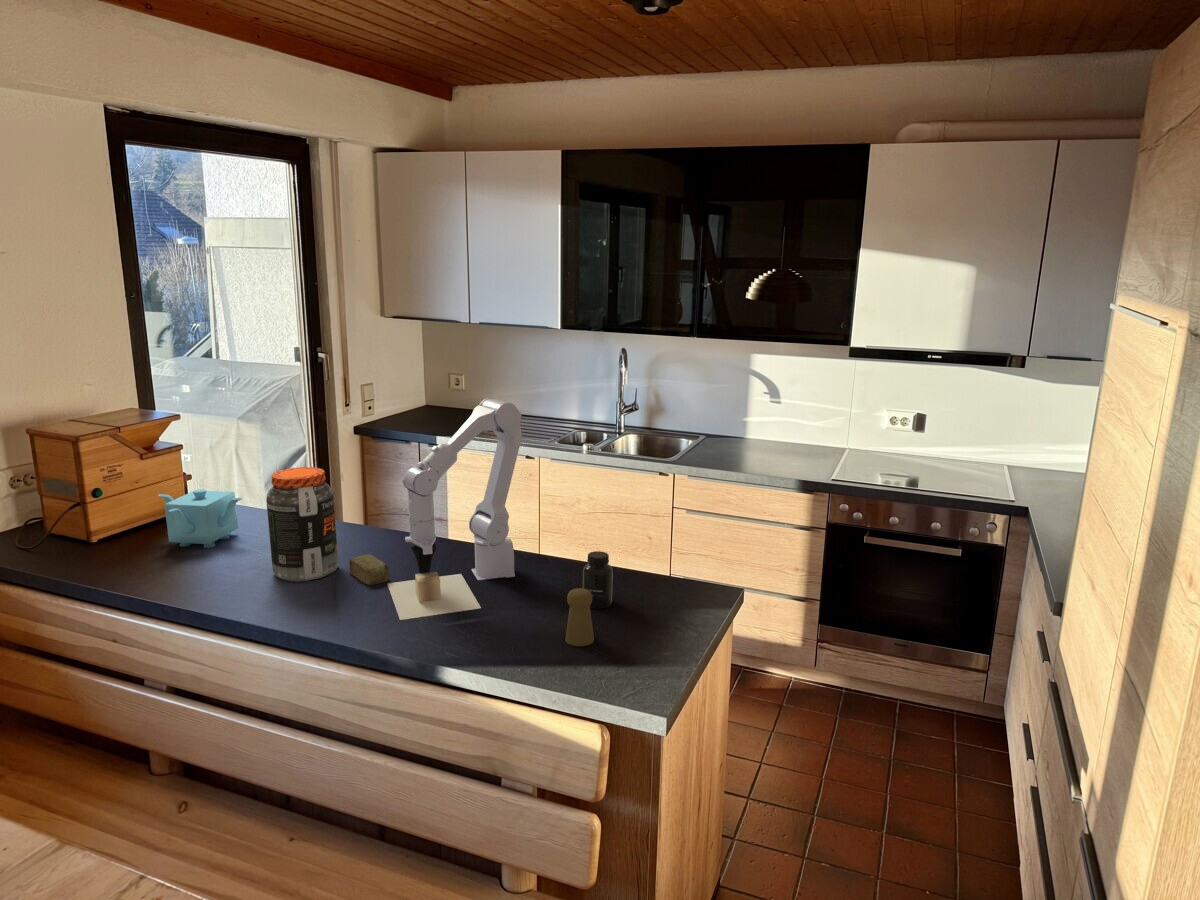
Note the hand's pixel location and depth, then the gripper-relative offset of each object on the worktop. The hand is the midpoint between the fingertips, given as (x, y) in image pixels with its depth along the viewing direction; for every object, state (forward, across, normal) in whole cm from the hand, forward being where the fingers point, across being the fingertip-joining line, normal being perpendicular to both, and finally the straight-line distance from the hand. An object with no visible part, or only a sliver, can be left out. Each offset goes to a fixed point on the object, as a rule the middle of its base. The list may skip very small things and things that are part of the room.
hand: (424, 573), depth 199 cm
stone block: (+5, -13, -12) cm, 18 cm away
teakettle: (+5, -56, -52) cm, 77 cm away
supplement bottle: (+5, +21, +36) cm, 42 cm away
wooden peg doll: (+5, +37, +26) cm, 45 cm away
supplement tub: (+5, -23, -26) cm, 35 cm away
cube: (+2, +2, 0) cm, 3 cm away
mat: (+5, +4, +1) cm, 6 cm away
